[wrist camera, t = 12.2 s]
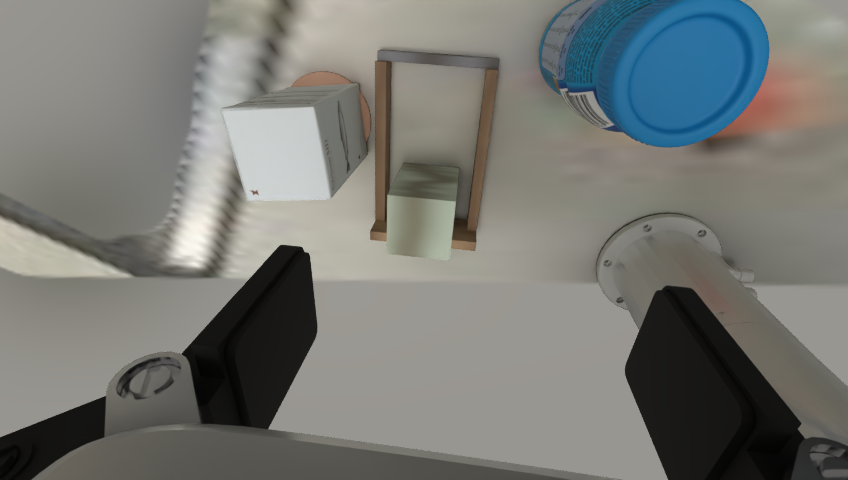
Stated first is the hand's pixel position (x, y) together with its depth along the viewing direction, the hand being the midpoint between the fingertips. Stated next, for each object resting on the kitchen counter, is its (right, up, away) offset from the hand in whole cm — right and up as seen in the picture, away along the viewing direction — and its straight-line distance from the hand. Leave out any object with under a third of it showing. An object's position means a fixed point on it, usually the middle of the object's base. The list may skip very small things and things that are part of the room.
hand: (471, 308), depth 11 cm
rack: (0, +12, +30) cm, 32 cm away
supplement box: (-11, +14, +30) cm, 35 cm away
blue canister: (+13, +19, +25) cm, 34 cm away
